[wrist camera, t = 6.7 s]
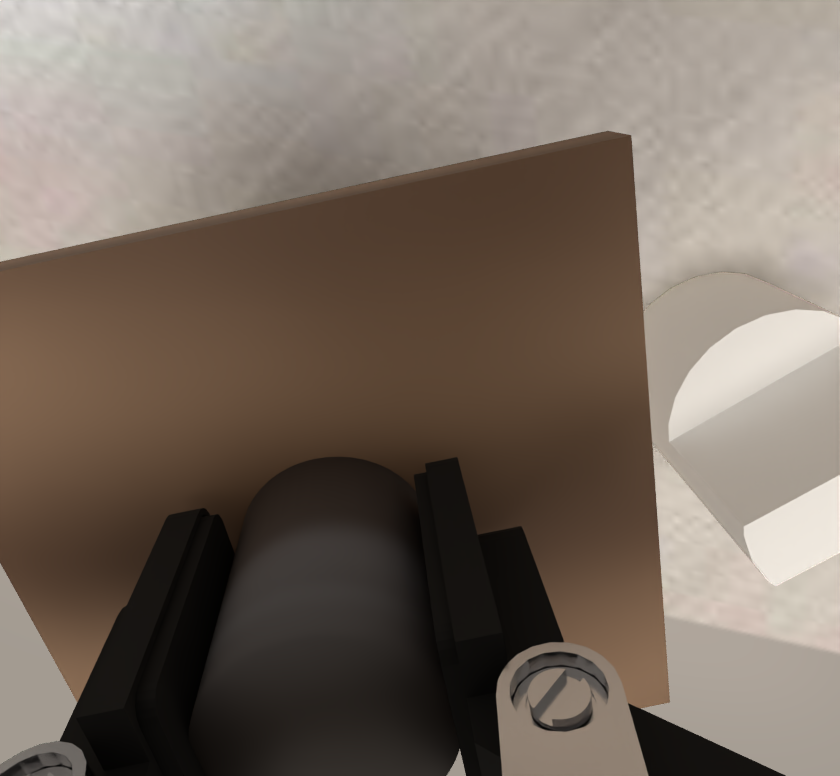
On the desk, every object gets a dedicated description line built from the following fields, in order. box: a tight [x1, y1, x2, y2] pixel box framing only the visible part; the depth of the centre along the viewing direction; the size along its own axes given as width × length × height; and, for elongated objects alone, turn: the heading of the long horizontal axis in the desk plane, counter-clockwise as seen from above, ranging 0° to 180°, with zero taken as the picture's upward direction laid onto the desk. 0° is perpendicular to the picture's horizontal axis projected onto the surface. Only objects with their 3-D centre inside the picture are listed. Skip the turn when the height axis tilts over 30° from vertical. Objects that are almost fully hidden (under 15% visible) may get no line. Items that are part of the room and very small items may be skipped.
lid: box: [0, 131, 670, 776], centre depth 11 cm, size 11×11×5 cm
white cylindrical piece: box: [643, 272, 840, 586], centre depth 28 cm, size 9×9×12 cm
